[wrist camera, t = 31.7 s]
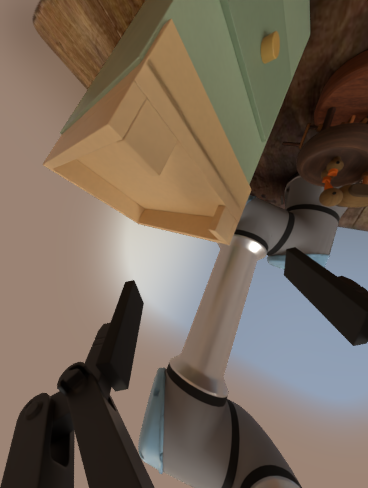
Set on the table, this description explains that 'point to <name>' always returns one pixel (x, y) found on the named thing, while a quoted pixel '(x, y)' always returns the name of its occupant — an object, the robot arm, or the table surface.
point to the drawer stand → (185, 112)
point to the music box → (339, 138)
